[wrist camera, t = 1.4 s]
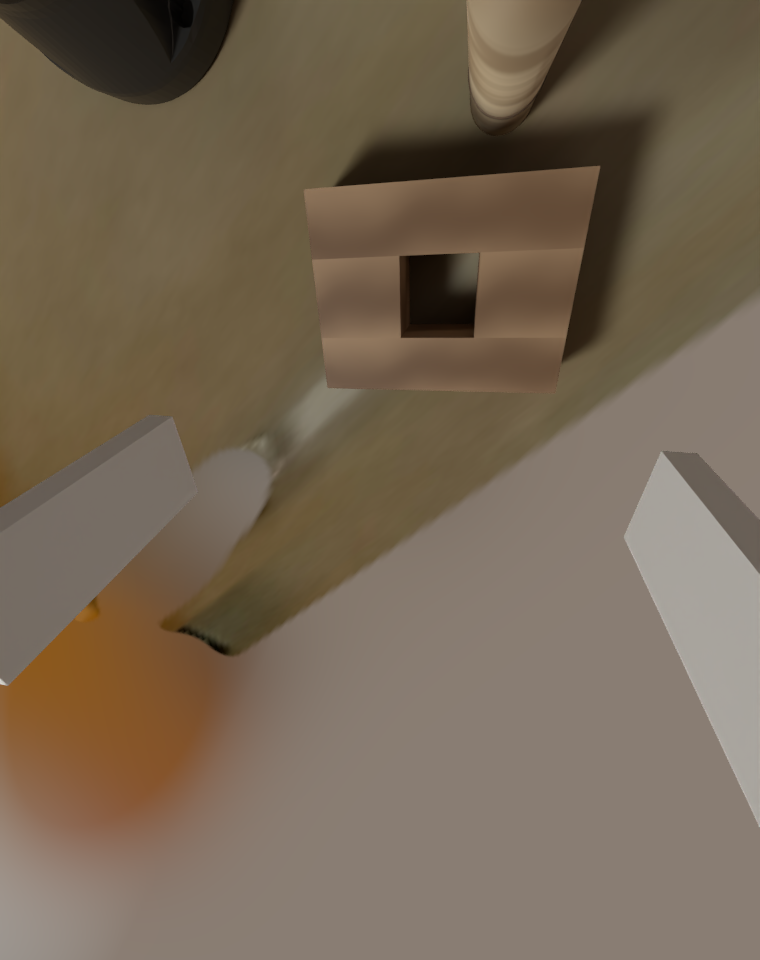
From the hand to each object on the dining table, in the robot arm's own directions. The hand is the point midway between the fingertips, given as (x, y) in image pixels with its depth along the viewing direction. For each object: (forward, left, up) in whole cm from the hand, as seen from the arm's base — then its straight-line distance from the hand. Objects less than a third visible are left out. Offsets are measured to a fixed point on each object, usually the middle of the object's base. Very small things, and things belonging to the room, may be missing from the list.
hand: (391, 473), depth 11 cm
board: (-2, 0, -22) cm, 22 cm away
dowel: (-12, +3, -22) cm, 26 cm away
